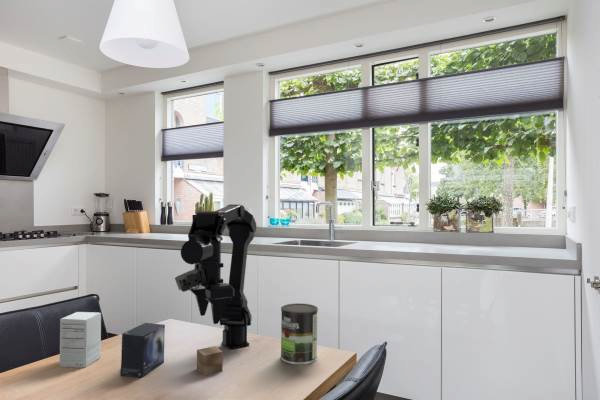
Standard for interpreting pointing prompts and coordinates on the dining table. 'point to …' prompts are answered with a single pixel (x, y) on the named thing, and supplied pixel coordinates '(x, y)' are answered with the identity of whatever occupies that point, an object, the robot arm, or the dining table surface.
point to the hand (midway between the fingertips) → (208, 319)
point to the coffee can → (299, 334)
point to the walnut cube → (209, 360)
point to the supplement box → (80, 339)
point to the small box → (142, 349)
